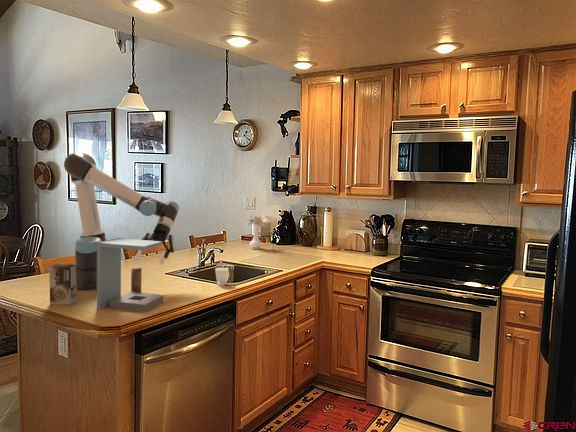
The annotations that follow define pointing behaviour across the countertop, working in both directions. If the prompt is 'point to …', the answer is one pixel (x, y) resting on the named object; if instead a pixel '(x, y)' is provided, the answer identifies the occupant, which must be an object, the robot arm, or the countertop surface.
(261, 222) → the flower vase
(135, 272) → the peg
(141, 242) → the grey l-shaped frame
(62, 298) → the coffee box
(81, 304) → the countertop surface
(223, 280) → the cup
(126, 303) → the socket
